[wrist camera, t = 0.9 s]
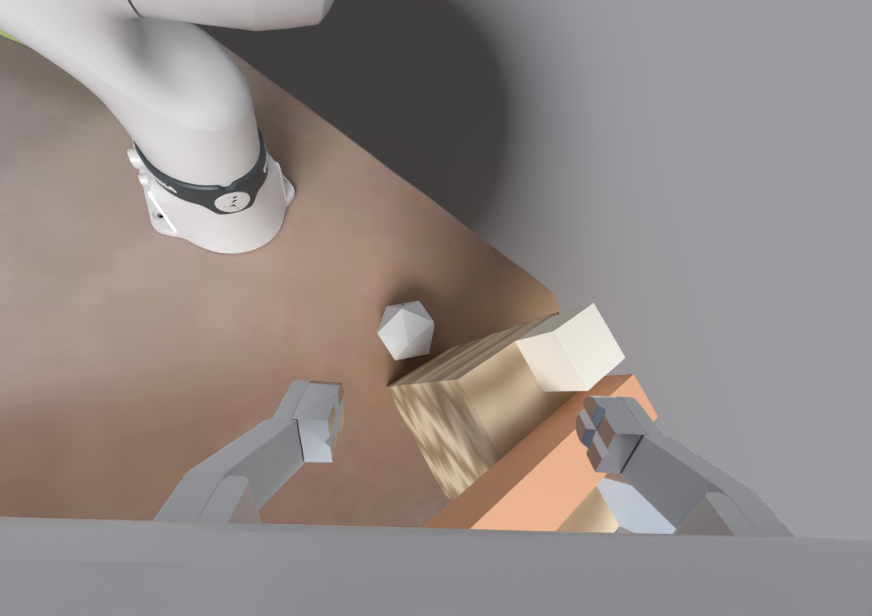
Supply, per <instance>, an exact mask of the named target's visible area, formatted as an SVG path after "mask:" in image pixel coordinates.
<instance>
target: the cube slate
mask: <svg viewBox="0 0 872 616" xmlns="http://www.w3.org/2000/svg"><path fill="white" fill-rule="evenodd" d="M596 486H597V488H598V489H599V491H600V493H601V495H602V497H603V498H604V500H605V502H606V504H607V505H608V507H609V509H610V511H611V513H612V514H613V516H614V518H615V520H616V521H617V523H618V525H619V526H620V527H622V528H625V529H627V530H630V531H632V532H634V533H650V534H672V533H673V532H674V531H675V530H676V528H675V527H674V526H673V525H672V524H671V523H670V522H669V521H668V520H667V519H666V518H664V517H663V516H662V515H661V514H660V513H659V512H658V511H657V510H656V509H655V508H654V507H653V506H652V505H651V504H650V503H649V502H648V501H647V500H646V499H645V498H644V497H643V496H642V495H641V494H640V493H639V492H638V491H637V490H636V489H634V488H633V487H632V486H631V485H630V484H629V483H628V482H627V481H626V480H625V479H624V478H623V477H622V476H621V474H615V473H607V474H606V475H605V476H604V477H603V479H602V480H601V481H600V482H599V483H598V484H597V485H596Z"/></svg>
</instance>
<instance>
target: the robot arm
mask: <svg viewBox="0 0 872 616" xmlns="http://www.w3.org/2000/svg"><path fill="white" fill-rule="evenodd" d="M333 2H334V0H0V30H2V31H4V32H5V33H7V34H9V35H10V36H12V37H14V38H15V39H17V40H19V41H20V42H22V43H24V44H25V45H27V46H28V47H30V48H32V49H33V50H35V51H36V52H38V53H39V54H41V55H42V56H44V57H46V58H47V59H49V60H50V61H52V62H53V63H55V64H56V65H58V66H59V67H60V68H62V69H63V70H65V71H66V72H68V73H69V74H70V75H72V76H73V77H74V78H76V79H77V80H78V81H80V82H81V83H82V84H84V85H85V86H86V87H87V88H89V89H90V90H91V91H92V92H93V93H94V94H96V95H97V96H98V97H99V98H100V99H101V100H102V101H103V102H104V103H105V105H106V106H107V107H108V108H109V109H110V111H111V112H112V113H113V114H114V115H115V117H116V118H117V119H118V120H119V122H120V123H121V124H122V125H123V127H124V128H125V129H126V131H127V132H128V133H129V135H130V136H131V137H132V141H133V146H134V148H129V149H127V153H128V156H129V158H130V161H131V163H132V164H133V166H134V167H135V168H137V169H139V171H140V174H138V177H139V180H140V182H141V184H142V185H143V188H144V193H145V197H146V201H147V206H148V210H149V214H150V218H151V223H152V225H153V227H154V229H155V230H156V231H157V232H159V233H161V234H164V235H169V236H174V237H181V238H184V239H186V240H188V241H190V242H192V243H194V244H196V245H198V246H200V247H202V248H205V249H207V250H211V251H215V252H220V253H242V252H247V251H251V250H254V249H257V248H259V247H261V246H263V245H265V244H266V243H268V242H269V241H270V240H271V239H273V238H274V237H275V235H276V234H277V233H278V232H279V230H280V228H281V226H282V224H283V221H284V216H285V211H286V208H287V206H288V205H289V204H290V203H291V201H292V200H293V199H294V197H295V190H294V187H293V186H292V185H291V183H290V182H289V181H288V180H287V178H286V177H285V176H284V175H283V174H282V172H281V169H280V166H279V164H278V162H275V161H274V160H273V158H272V157H271V156H270V155H269V154H268V153H267V149H266V145H265V142H264V140H263V137H262V134H261V132H260V130H259V129H258V127H257V123H256V118H255V113H254V107H253V102H252V97H251V91H250V88H249V85H248V82H247V80H246V78H245V76H244V74H243V73H242V71H241V70H240V68H239V67H238V65H237V64H236V63H235V61H234V60H233V59H232V58H231V56H230V55H229V54H228V53H227V52H226V51H225V50H224V48H223V47H222V46H221V45H220V44H219V43H218V42H217V41H216V40H214V39H213V38H212V37H211V36H209V35H208V34H207V33H205V32H204V31H202V30H201V29H199V28H198V27H196V26H195V25H193V24H191V23H198V24H205V25H214V26H220V27H229V28H236V29H245V30H252V31H263V30H276V29H288V28H295V27H302V26H309V25H317V24H319V23H320V22H321V20H322V19H323V18H324V17H325V16H326V14H327V12H328V11H329V9H330V8H331V6H332V4H333ZM161 215H163V218H159V216H161ZM343 393H344V389H343V384H342V383H337V382H324V381H306V380H294V381H293V382H292V383H291V384H290V386H289V388H288V390H287V392H286V394H285V396H284V397H283V399H282V401H281V403H280V405H279V407H278V409H277V410H276V412H275V414H274V416H273V418H272V419H266V420H264V421H263V422H261V423H260V424H258V425H257V426H255V427H254V428H252V429H251V430H249V431H248V432H246V433H245V434H243V435H242V436H240V437H239V438H237V439H236V440H234V441H233V442H231V443H230V444H228V445H227V446H225V447H224V448H222V449H221V450H219V451H218V452H216V453H215V454H213V455H212V456H210V457H209V458H207V459H206V460H204V461H203V462H201V463H200V464H198V465H197V466H195V467H194V468H192V469H191V470H189V471H188V472H186V474H185V475H184V477H183V478H182V479H181V481H180V482H179V484H178V485H177V487H176V488H175V489H174V491H173V492H172V494H171V495H170V497H169V498H168V499H167V501H166V502H165V504H164V505H163V506H162V508H161V509H160V511H159V512H158V514H157V515H156V516H155V518H154V519H153V521H140V520H101V519H62V518H24V517H0V616H872V539H846V538H806V537H795V536H794V535H793V534H792V533H791V532H790V531H789V530H788V529H787V527H786V526H785V525H784V524H783V523H782V522H781V521H780V520H779V519H778V517H777V516H776V515H775V514H774V513H773V512H772V511H771V509H770V508H769V507H768V506H767V505H766V504H765V503H764V502H763V501H762V499H761V498H760V497H759V496H758V495H757V494H756V493H755V492H754V491H752V490H751V489H749V488H748V487H746V486H744V485H743V484H741V483H740V482H738V481H737V480H735V479H734V478H732V477H730V476H729V475H727V474H725V473H724V472H723V471H721V470H720V469H718V468H717V467H715V466H714V465H712V464H710V463H709V462H707V461H706V460H704V459H703V458H701V457H700V456H698V455H697V454H695V453H693V452H692V451H690V450H689V449H687V448H686V447H684V446H683V445H681V444H680V443H678V442H677V441H675V440H673V439H672V438H670V437H667V436H666V437H665V436H664V435H663V434H662V433H661V431H660V430H659V429H658V427H657V426H656V425H655V424H654V422H653V421H652V420H651V418H650V417H649V416H648V414H647V413H646V412H645V410H644V409H643V408H642V407H641V405H640V404H639V403H638V401H637V400H636V399H634V398H633V397H609V396H587V397H586V398H585V399H584V402H583V406H584V408H585V409H584V410H583V411H581V412H580V413H578V416H577V419H576V432H577V436H578V438H579V440H580V442H581V443H582V444H584V445H585V446H586V447H587V448H588V449H587V452H586V455H587V457H588V459H589V461H590V463H591V465H592V467H593V469H594V471H595V472H600V473H615V474H621V476H622V477H623V478H624V479H625V480H626V481H627V482H628V483H629V484H630V485H631V486H632V487H633V488H634V489H636V490H637V491H638V492H639V493H640V494H641V495H642V496H643V497H644V498H645V499H646V500H647V501H648V502H649V503H650V504H651V505H652V506H653V507H654V508H655V509H656V510H657V511H658V512H659V513H660V514H661V515H662V516H663V517H664V518H666V519H667V520H668V521H669V522H670V523H671V524H672V525H673V526H674V527H675V528H676V530H675V531H674V532H673V533H672V534H650V533H610V532H569V531H529V530H489V529H451V528H412V527H373V526H334V525H295V524H262V523H261V520H260V516H259V513H258V510H259V509H260V508H261V507H262V506H263V505H264V504H265V503H266V502H267V501H268V500H269V499H270V498H271V497H272V496H273V495H274V494H275V493H276V491H277V490H278V489H279V488H280V487H281V486H282V485H283V484H284V483H285V482H286V481H287V480H288V479H289V478H290V477H291V476H292V475H293V474H294V473H295V472H296V471H297V470H298V469H299V468H300V467H301V466H302V465H303V462H332V461H333V457H334V454H335V451H336V447H337V444H338V443H337V435H338V434H339V433H340V432H341V430H342V426H343V421H344V415H345V402H344V401H343V400H342V396H343Z"/></svg>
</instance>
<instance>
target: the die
mask: <svg viewBox="0 0 872 616" xmlns="http://www.w3.org/2000/svg"><path fill="white" fill-rule="evenodd" d="M433 331H434V321H433V320H432V318H431V317H430V316H429V314H428V313H427V311H426V310H425V308H424V307H423V305H422V304H421V302H420V301H414V302H409V303H403V304H398V305H392V306H387V307H386V309H385V312H384V315H383V318H382V321H381V324H380V327H379V330H378V332H377V333H378V335H379V336H380V338H381V339H382V341H383V342H384V344H385V346H386V347H387V349H388V350H389V352H390V353H391V355H392V356H393V358H394V360H399V359H405V358H410V357H415V356H420V355H426V354H429V351H430V346H431V341H432V336H433Z"/></svg>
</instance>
